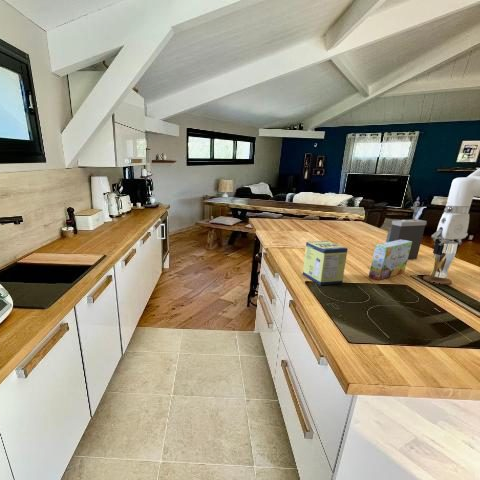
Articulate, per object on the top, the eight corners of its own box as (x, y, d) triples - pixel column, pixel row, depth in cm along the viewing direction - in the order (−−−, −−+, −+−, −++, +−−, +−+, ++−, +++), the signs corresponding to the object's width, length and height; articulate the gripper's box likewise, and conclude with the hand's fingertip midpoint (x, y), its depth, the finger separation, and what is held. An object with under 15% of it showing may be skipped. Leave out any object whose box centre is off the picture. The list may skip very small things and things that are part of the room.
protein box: (322, 273, 147) (326, 240, 141) (342, 284, 132) (348, 248, 127) (301, 274, 145) (305, 241, 140) (320, 285, 131) (325, 249, 125)
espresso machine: (417, 259, 167) (427, 220, 159) (393, 260, 165) (402, 221, 157) (403, 254, 175) (412, 217, 168) (380, 256, 173) (388, 218, 166)
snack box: (380, 281, 135) (387, 247, 130) (367, 277, 140) (374, 244, 134) (405, 272, 146) (413, 240, 140) (393, 269, 150) (399, 238, 145)
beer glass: (425, 273, 138) (434, 240, 133) (443, 274, 137) (452, 240, 131) (433, 278, 132) (442, 243, 126) (452, 279, 130) (462, 244, 125)
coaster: (436, 276, 140) (437, 274, 140) (457, 283, 131) (458, 282, 131) (417, 277, 139) (417, 276, 138) (437, 285, 129) (437, 283, 129)
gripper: (446, 212, 120) (434, 257, 126) (484, 210, 122) (471, 254, 128) (429, 210, 126) (418, 252, 133) (466, 208, 129) (454, 250, 135)
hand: (444, 253), depth 131 cm, fingers closed on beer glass, 7 cm apart
